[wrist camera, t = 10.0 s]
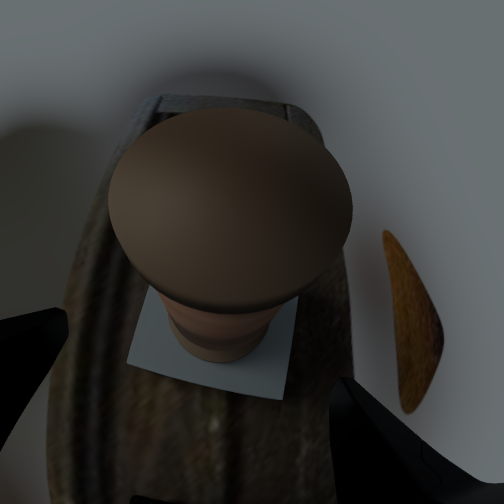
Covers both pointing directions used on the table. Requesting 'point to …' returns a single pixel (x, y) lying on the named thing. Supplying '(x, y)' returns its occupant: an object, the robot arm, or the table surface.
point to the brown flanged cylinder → (228, 222)
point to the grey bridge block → (207, 373)
